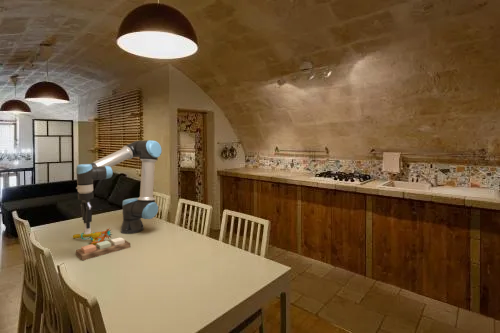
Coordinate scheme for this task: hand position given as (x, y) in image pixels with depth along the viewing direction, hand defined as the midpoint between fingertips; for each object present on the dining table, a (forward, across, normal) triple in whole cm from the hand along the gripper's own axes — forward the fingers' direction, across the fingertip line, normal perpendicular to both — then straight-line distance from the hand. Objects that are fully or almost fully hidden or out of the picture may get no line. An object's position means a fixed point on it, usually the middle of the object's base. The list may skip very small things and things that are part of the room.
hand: (87, 233), depth 158 cm
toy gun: (+12, -20, +5) cm, 24 cm away
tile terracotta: (+10, 0, 0) cm, 10 cm away
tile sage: (+10, 0, +8) cm, 13 cm away
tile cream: (+10, 0, +16) cm, 19 cm away
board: (+12, 0, +8) cm, 15 cm away
